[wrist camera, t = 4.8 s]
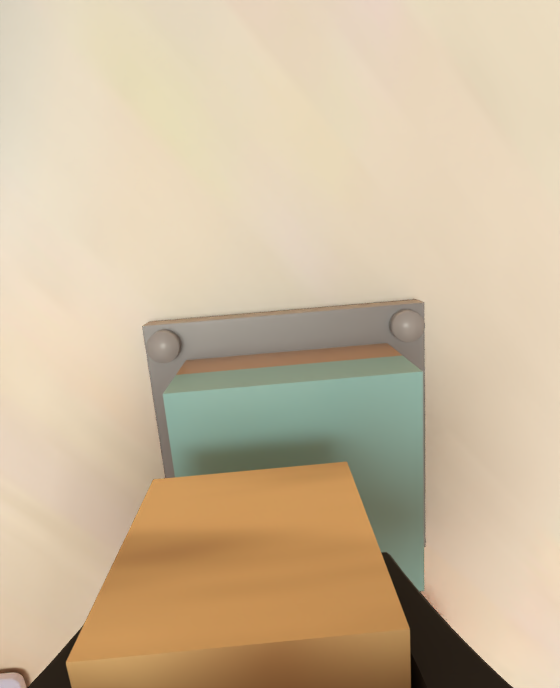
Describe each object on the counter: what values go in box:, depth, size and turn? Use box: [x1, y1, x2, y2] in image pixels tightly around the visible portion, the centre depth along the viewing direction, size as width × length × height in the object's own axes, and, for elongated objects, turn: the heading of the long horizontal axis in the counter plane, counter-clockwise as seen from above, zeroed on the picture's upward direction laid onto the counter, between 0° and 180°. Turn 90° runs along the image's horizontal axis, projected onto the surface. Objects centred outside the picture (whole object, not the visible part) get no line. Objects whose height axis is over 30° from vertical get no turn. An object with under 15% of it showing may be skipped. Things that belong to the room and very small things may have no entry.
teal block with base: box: [142, 299, 426, 591], centre depth 17 cm, size 11×11×5 cm
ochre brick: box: [66, 462, 411, 688], centre depth 9 cm, size 5×5×5 cm
